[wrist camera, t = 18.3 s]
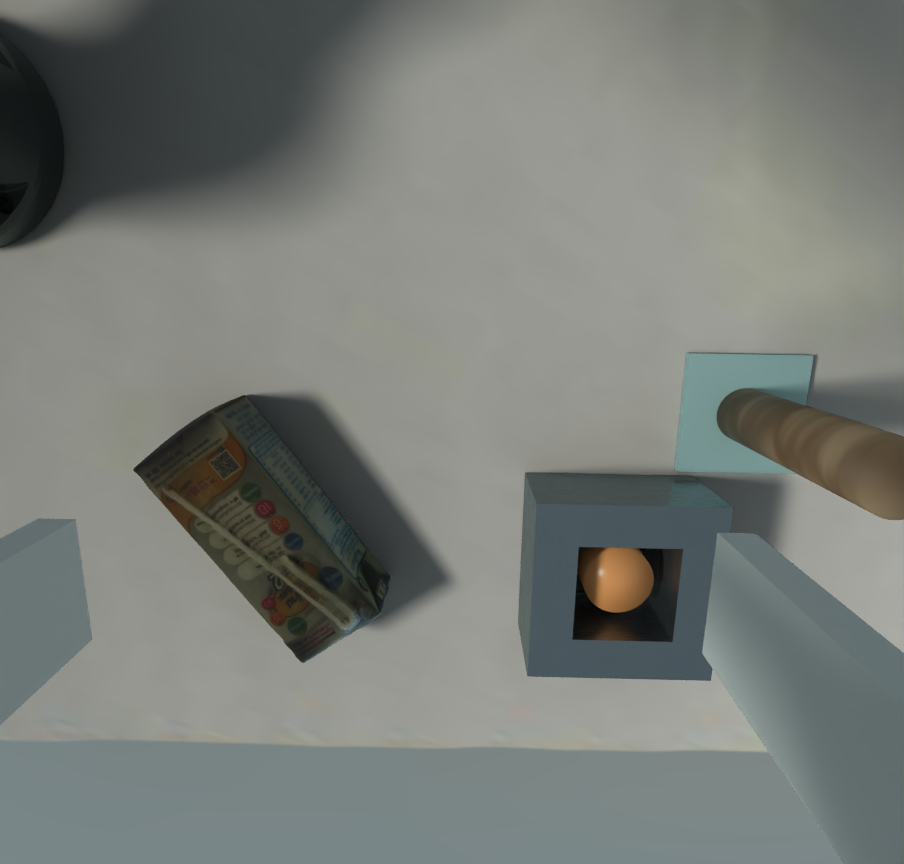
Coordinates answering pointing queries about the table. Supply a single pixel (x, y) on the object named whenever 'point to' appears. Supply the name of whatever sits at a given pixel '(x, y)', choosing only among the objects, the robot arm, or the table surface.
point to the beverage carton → (267, 526)
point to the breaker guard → (618, 526)
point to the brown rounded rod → (820, 448)
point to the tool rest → (706, 390)
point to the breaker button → (615, 577)
